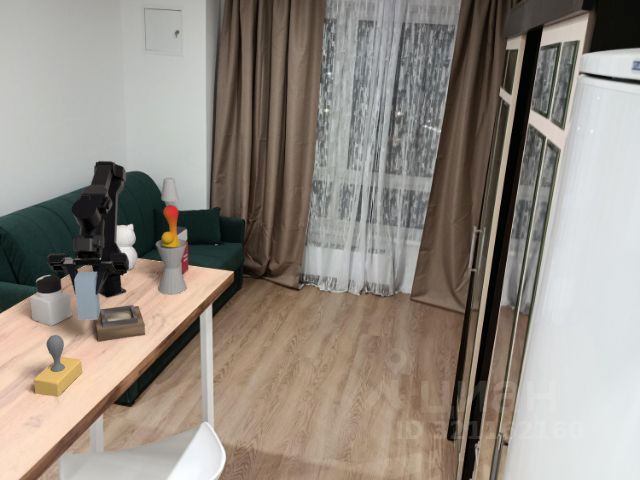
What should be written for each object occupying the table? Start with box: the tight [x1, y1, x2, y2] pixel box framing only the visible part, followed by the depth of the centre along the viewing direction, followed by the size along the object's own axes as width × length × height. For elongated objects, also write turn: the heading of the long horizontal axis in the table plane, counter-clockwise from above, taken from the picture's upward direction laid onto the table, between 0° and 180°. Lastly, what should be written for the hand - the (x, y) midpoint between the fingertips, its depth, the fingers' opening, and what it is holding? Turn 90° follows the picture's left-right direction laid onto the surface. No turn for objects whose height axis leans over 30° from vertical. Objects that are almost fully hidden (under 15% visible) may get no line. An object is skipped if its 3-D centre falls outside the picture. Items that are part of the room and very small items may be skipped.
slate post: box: [74, 271, 101, 321], centre depth 148 cm, size 4×4×11 cm
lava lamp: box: [155, 177, 188, 296], centre depth 179 cm, size 9×9×35 cm
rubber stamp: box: [33, 334, 83, 397], centre depth 132 cm, size 10×6×12 cm, turn 171°
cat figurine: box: [116, 223, 138, 272], centre depth 195 cm, size 9×12×15 cm
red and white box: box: [164, 226, 189, 275], centre depth 192 cm, size 11×4×15 cm, turn 168°
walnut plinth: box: [94, 304, 146, 343], centre depth 159 cm, size 12×12×4 cm
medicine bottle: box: [29, 274, 73, 327], centre depth 161 cm, size 7×7×12 cm
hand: (86, 294), depth 147 cm, fingers closed on slate post, 4 cm apart
